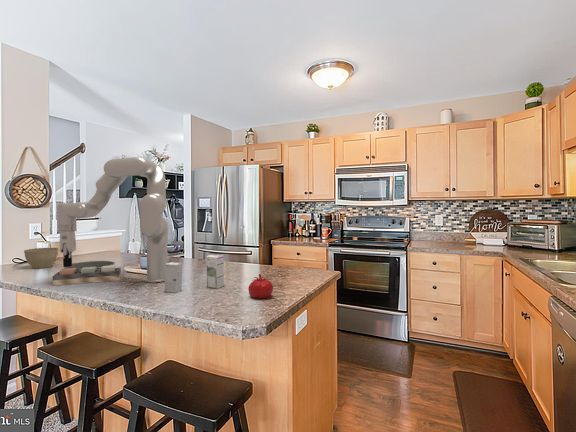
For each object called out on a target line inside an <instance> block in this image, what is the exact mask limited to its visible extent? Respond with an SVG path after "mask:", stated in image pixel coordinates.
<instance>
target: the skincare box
mask: <svg viewBox="0 0 576 432" xmlns="http://www.w3.org/2000/svg"><path fill="white" fill-rule="evenodd" d="M182 287H183V263H182V262H172V261H171V262H167V264H165V281H164V292H165V293H166V292H167V293H174V294H176V293H178V292H181V291H183V290H182Z"/></svg>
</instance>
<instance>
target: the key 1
mask: <svg viewBox="0 0 576 432" xmlns="http://www.w3.org/2000/svg"><path fill="white" fill-rule="evenodd" d="M59 272H60V275H67V274H75V273H76V268H67V269H64V268H62V269H60V270H59Z"/></svg>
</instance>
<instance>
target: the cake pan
mask: <svg viewBox="0 0 576 432" xmlns="http://www.w3.org/2000/svg"><path fill="white" fill-rule="evenodd" d="M115 264H116V262H115V261H111V260H91V261H90V260H89V261H80V262H74V263H73V262H72V266H71V267H63V266H62V267H63V268H62V269H67V268H76V271H79V270H81V269H82V268H83V267H96V269H101V268H102V267H103V266H112V265H115Z"/></svg>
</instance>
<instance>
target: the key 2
mask: <svg viewBox="0 0 576 432" xmlns="http://www.w3.org/2000/svg"><path fill="white" fill-rule="evenodd" d="M115 268H116V265H115V264H114V265H112V266H103V267H102V268H101V272H108V271H115Z"/></svg>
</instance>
